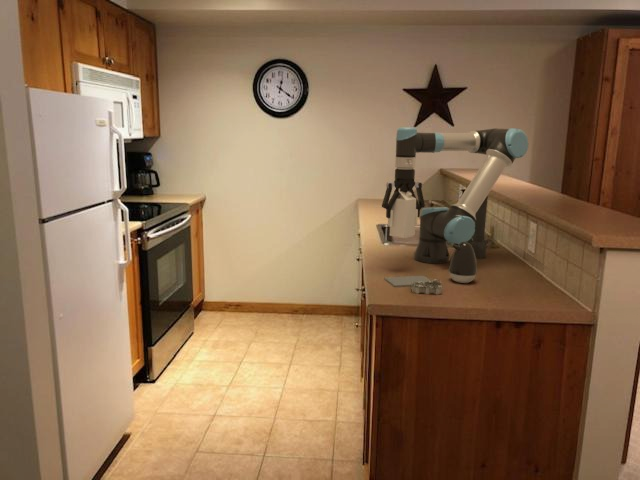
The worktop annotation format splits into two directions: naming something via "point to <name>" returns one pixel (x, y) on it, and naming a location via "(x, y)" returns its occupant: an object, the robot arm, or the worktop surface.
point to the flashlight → (480, 232)
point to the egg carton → (427, 287)
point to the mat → (405, 280)
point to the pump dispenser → (463, 263)
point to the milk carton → (403, 216)
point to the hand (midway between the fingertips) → (402, 225)
